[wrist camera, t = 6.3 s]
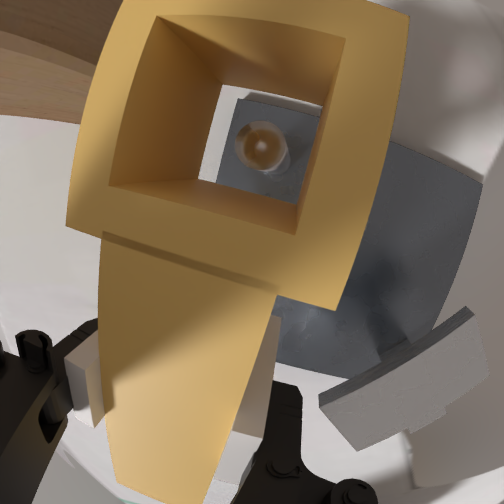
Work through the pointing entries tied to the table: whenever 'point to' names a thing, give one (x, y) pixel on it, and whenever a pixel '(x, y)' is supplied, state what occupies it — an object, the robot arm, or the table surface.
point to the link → (217, 209)
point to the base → (371, 246)
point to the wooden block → (51, 55)
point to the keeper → (409, 383)
